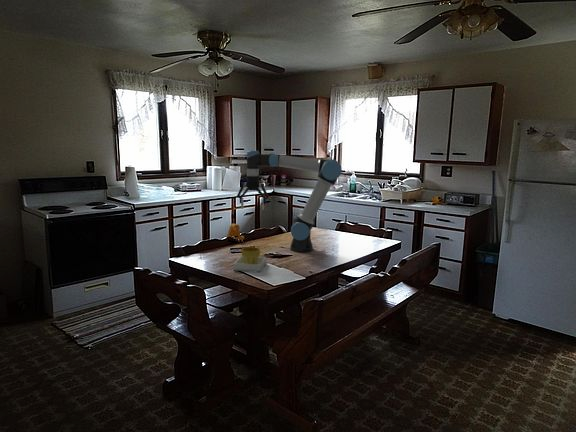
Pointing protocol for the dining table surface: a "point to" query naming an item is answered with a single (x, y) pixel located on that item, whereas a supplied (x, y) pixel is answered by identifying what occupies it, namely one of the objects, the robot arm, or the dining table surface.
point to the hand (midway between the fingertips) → (252, 209)
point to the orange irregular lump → (235, 232)
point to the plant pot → (250, 255)
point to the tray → (249, 265)
